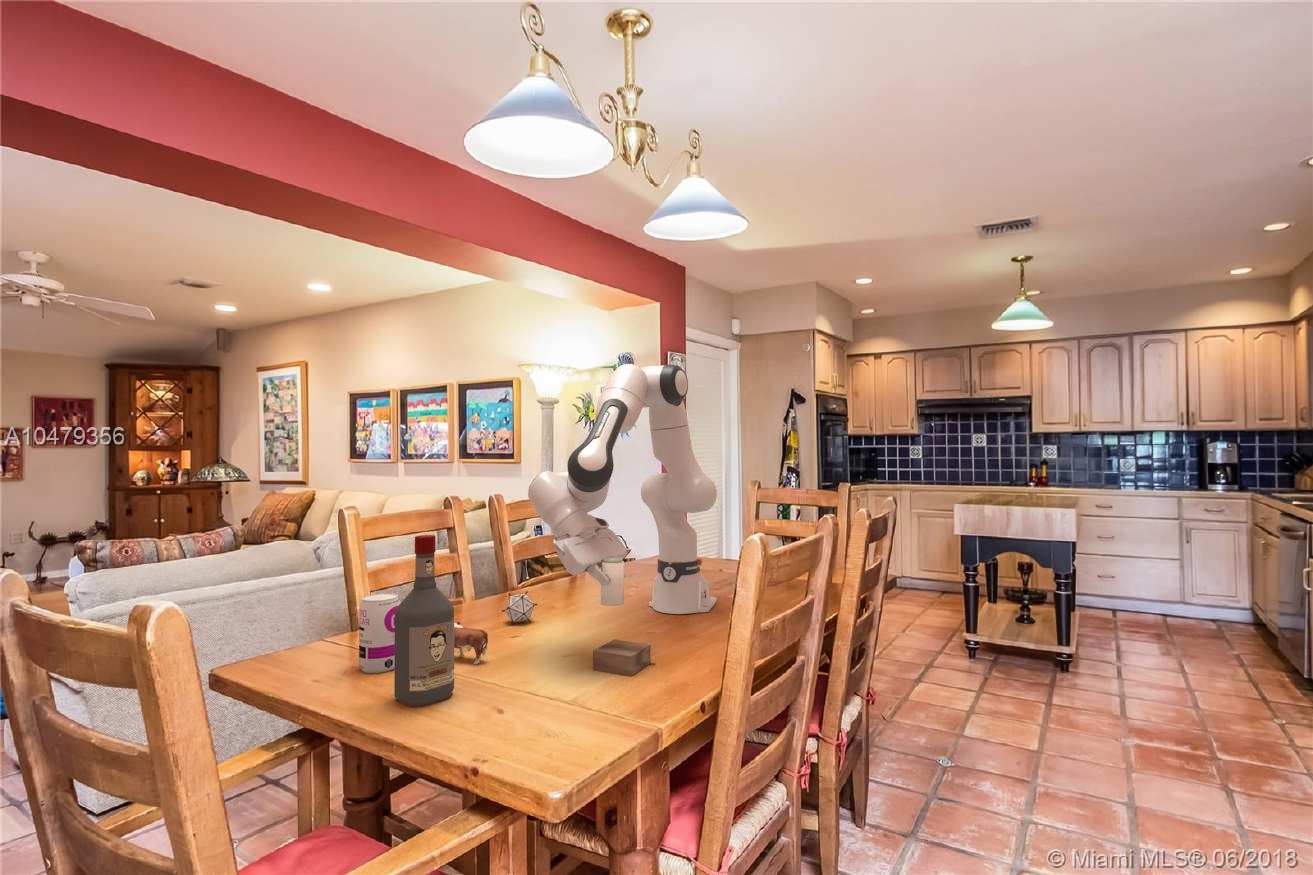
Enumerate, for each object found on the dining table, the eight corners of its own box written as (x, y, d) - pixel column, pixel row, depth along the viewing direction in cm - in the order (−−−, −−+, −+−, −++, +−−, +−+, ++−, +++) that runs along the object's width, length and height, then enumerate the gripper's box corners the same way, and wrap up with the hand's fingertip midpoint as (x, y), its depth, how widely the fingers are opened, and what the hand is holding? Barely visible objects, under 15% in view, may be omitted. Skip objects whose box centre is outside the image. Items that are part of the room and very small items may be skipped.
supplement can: (408, 663, 143) (408, 593, 143) (383, 675, 135) (383, 602, 135) (376, 660, 145) (377, 591, 145) (349, 672, 137) (350, 600, 137)
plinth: (614, 657, 146) (614, 639, 146) (650, 663, 142) (650, 644, 142) (592, 669, 138) (592, 650, 138) (630, 676, 134) (630, 656, 134)
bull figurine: (449, 652, 151) (449, 616, 151) (492, 661, 144) (492, 624, 144) (434, 657, 147) (434, 620, 147) (477, 667, 140) (477, 628, 140)
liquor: (389, 697, 123) (389, 536, 123) (433, 684, 130) (434, 532, 130) (414, 710, 117) (415, 541, 117) (459, 695, 124) (460, 535, 124)
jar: (608, 599, 146) (608, 555, 146) (628, 602, 144) (628, 557, 144) (596, 604, 141) (596, 558, 142) (616, 607, 139) (616, 560, 139)
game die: (524, 638, 174) (531, 612, 169) (494, 626, 175) (501, 600, 169) (536, 614, 182) (543, 589, 177) (508, 603, 182) (514, 577, 177)
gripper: (558, 528, 137) (598, 579, 132) (609, 519, 155) (646, 564, 150) (541, 548, 139) (579, 599, 134) (593, 537, 157) (628, 582, 152)
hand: (615, 580), depth 142 cm, fingers closed on jar, 5 cm apart
